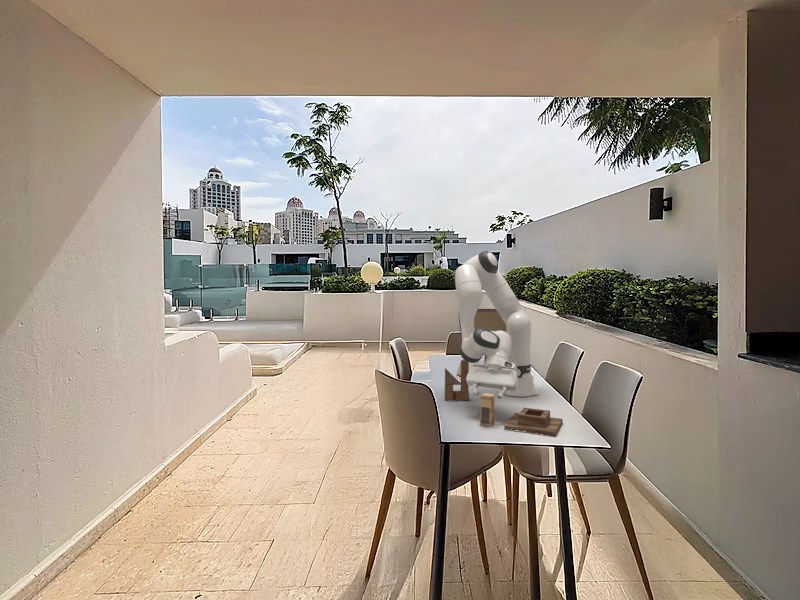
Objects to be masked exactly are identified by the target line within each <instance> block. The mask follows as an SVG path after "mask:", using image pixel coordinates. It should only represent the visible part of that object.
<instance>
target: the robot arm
mask: <svg viewBox="0 0 800 600" xmlns="http://www.w3.org/2000/svg"><path fill="white" fill-rule="evenodd" d="M498 267H499V262H498V259H497V257H496V255H494V253H493V252H491V251H488V250H484V251H481V252H479V253H478V254H476V255H474V256H472V257H471V258H469V259H468V260H467V261H466V262H464V263H463V264H462V265H460V266H458V267H457V268H456V270H454V273H453V279H454V282H455V290H456V295H457V303H458V304H457V305H458V322H459V323H458V324H459V331H460V332H459V333H460V344H459V348H458V349H459V350H458V351H459V355H460V357H461V358H462V359H464V360H466V361H467V362H470V363H476V362H479V361H481V359H482V358H483V356H485V355H486V361H485V364H484V365H483V364H480V365H473V366H470V368H469V372H468V374H467V377H466V382H467V384H468V385H469V386H472V387H473V389H474V391H473V395H474V396H476V397H477V396H479V395H480V391H479V389H478V388H479V387H480V388H489V389H494V390H495V389H496V392H497V394H498V395H497V398H498V399H501V400H502V399H503V397H504V396H509V397H518V398H519V397H522V398H524V397H530V396H531V397H532V396H538V395H539V392H538V391H537V388H535V383H534V382H535V381H534V376H533V375H532V374H531V371H532V367H531V366H532V365H531V339H532V338H531V336H532V321H531V318H530V317H529V315H528V314H527V312H526V311H525V309H524V308H523V306H522V304H521V302H520V301H519V300H518V297H517V296H516V295H515V293H514V291H513V290H512V288H511V287H510V285H509V283H508V282H507V280H506V278H505V277H504V276H503V274H502V273H501V272H500V271H499V270H498ZM484 292H485V294H486V296H487V297H488V299H489V300H490V302H491V304H492V305H493V308H494V309H496V310H497V312H498V313H499V315H500V316H501V318H502V319H503V321H504V322H505V324H506V326H507V329H506V332H504V331H489V330H488V329H485V328H477V329H476V330H475V329H474V317H475V314H476V312H477V310H478V309H480V306H481V304H482V302H483V298H484V297H483V296H484ZM505 394H506V395H505Z"/></svg>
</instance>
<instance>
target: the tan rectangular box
mask: <svg viewBox="0 0 800 600" xmlns="http://www.w3.org/2000/svg"><path fill="white" fill-rule="evenodd" d="M495 399H496V396H495V394H494V393H487V392H486V393H483V394H482V395H480V410H479V411H480V414H479V415H480V423H479V425H480V426H483V425H486V426H485V427H490V426H491V425H492V424H493V423H494V424H495V403H496V402H495ZM494 424H493V425H494ZM493 425H492V426H493ZM492 426H491V427H492Z"/></svg>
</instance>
